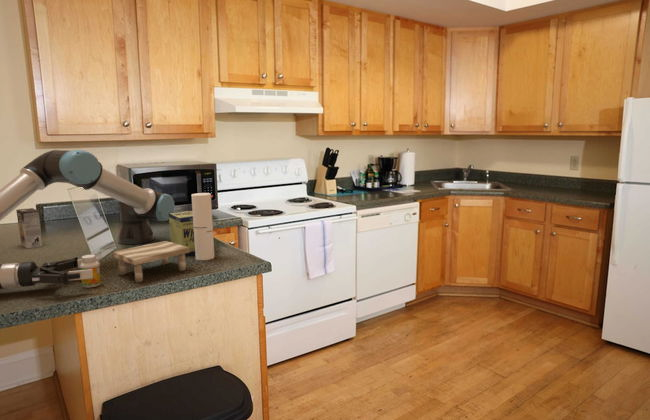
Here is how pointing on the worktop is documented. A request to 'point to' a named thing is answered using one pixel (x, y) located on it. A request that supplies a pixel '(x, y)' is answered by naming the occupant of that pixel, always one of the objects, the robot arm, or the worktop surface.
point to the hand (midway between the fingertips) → (96, 267)
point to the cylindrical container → (203, 226)
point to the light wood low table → (150, 256)
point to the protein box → (182, 230)
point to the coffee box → (29, 227)
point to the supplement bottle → (94, 265)
